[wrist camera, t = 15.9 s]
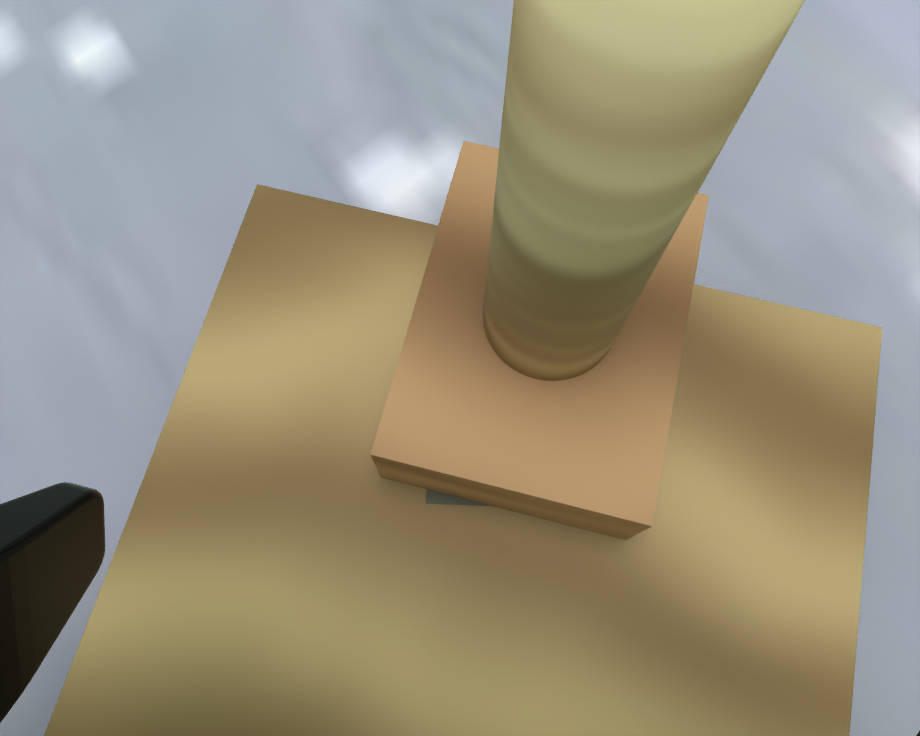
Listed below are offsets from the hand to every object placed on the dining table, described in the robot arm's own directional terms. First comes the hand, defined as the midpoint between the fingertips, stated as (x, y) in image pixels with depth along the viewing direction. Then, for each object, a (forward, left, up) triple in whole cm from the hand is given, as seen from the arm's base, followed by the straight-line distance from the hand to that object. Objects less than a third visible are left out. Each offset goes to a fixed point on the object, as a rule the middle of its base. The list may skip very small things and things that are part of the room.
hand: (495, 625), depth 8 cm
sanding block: (+6, +4, -10) cm, 12 cm away
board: (+1, +1, -11) cm, 11 cm away
